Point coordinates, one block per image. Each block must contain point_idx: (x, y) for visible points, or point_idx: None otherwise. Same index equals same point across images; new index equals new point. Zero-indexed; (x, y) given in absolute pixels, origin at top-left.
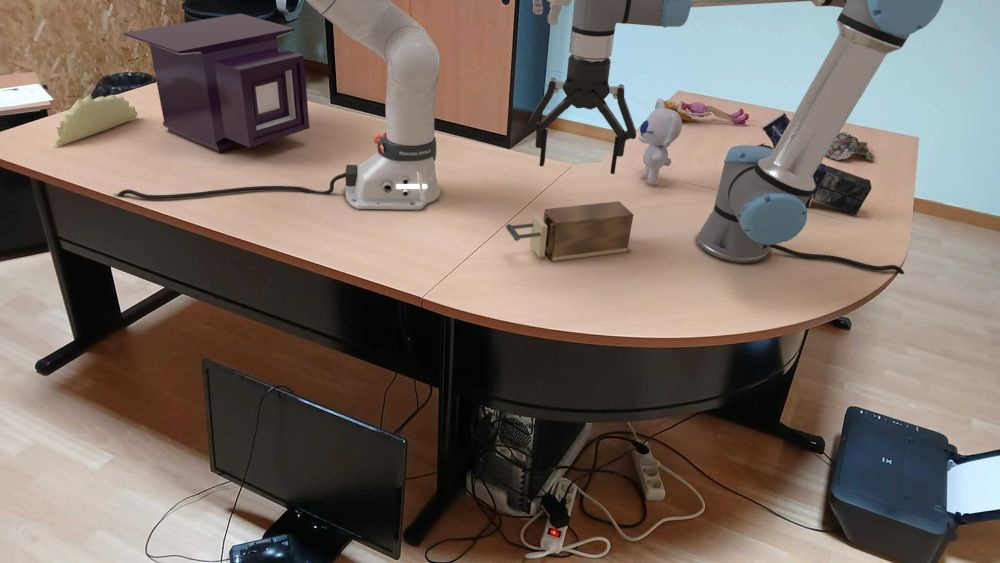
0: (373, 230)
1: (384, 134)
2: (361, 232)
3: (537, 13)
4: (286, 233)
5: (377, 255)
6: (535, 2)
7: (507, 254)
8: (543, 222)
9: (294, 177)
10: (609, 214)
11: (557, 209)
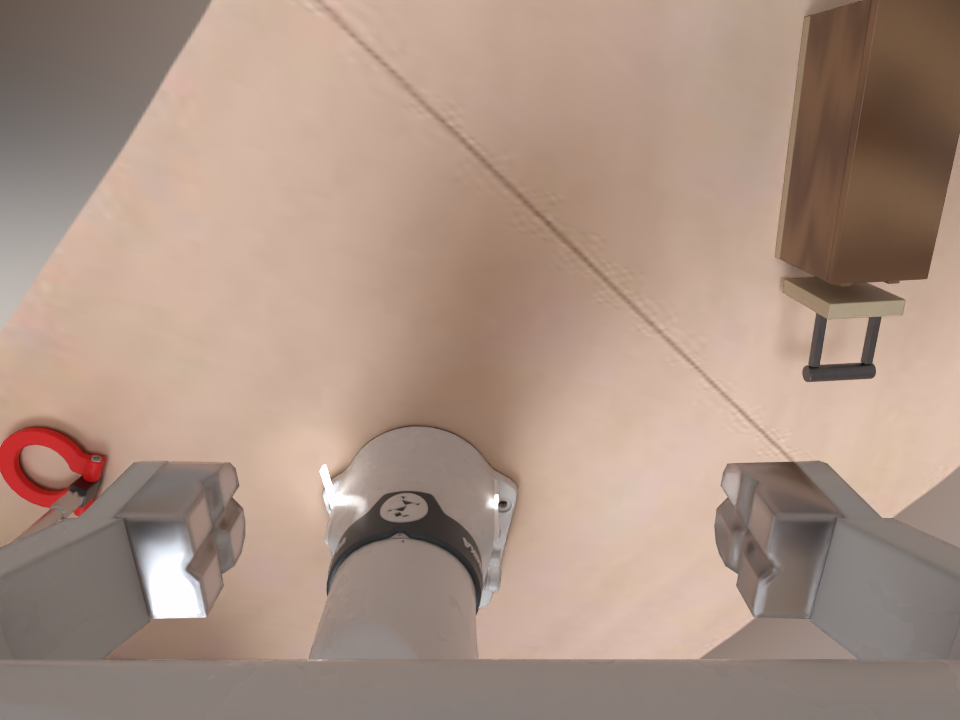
0: (590, 580)
1: (45, 504)
2: (593, 600)
3: (236, 521)
4: None
5: (694, 585)
6: (103, 633)
7: (782, 347)
8: (879, 303)
9: None
10: (952, 84)
11: (850, 247)
